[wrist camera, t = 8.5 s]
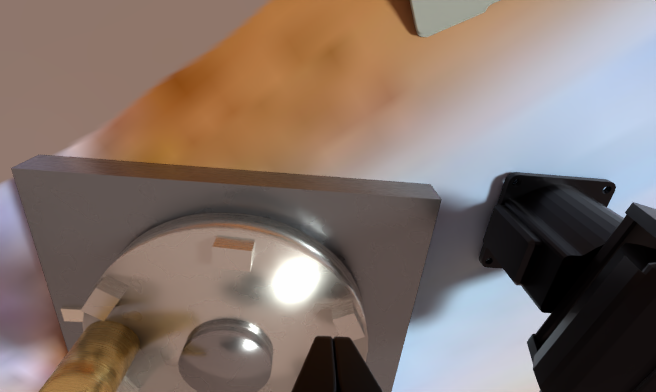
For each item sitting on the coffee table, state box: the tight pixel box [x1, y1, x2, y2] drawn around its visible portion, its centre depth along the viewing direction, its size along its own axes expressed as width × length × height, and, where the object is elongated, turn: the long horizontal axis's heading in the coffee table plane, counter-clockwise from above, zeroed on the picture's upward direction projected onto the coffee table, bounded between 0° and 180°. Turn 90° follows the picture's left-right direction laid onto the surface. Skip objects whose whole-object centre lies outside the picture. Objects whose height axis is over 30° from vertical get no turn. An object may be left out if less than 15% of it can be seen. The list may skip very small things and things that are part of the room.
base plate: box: [11, 155, 441, 392], centre depth 24 cm, size 22×19×2 cm
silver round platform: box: [39, 212, 368, 392], centre depth 19 cm, size 16×16×7 cm
